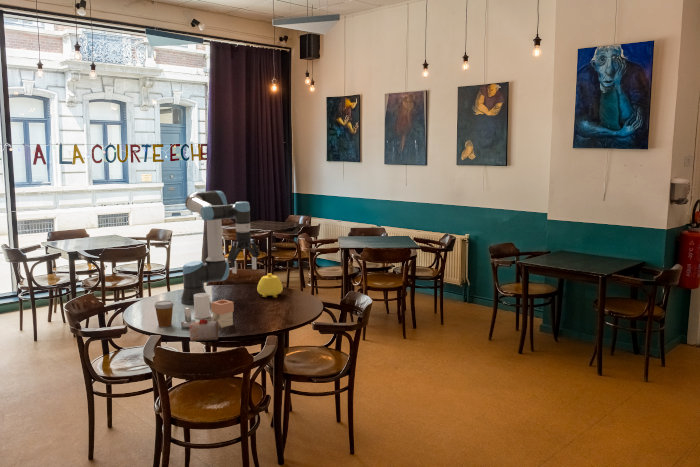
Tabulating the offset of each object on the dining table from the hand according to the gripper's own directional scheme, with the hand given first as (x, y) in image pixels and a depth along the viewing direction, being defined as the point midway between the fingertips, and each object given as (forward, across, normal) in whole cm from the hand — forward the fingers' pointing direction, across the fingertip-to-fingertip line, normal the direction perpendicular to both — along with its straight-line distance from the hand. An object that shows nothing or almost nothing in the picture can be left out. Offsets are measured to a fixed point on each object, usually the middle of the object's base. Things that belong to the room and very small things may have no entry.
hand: (244, 271), depth 320 cm
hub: (+25, -29, +10) cm, 40 cm away
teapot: (+25, +43, +27) cm, 57 cm away
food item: (+26, -36, -12) cm, 46 cm away
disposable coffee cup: (+26, -35, +22) cm, 49 cm away
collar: (+18, -16, 0) cm, 24 cm away
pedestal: (+25, -16, 0) cm, 30 cm away
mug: (+26, -12, +22) cm, 36 cm away
